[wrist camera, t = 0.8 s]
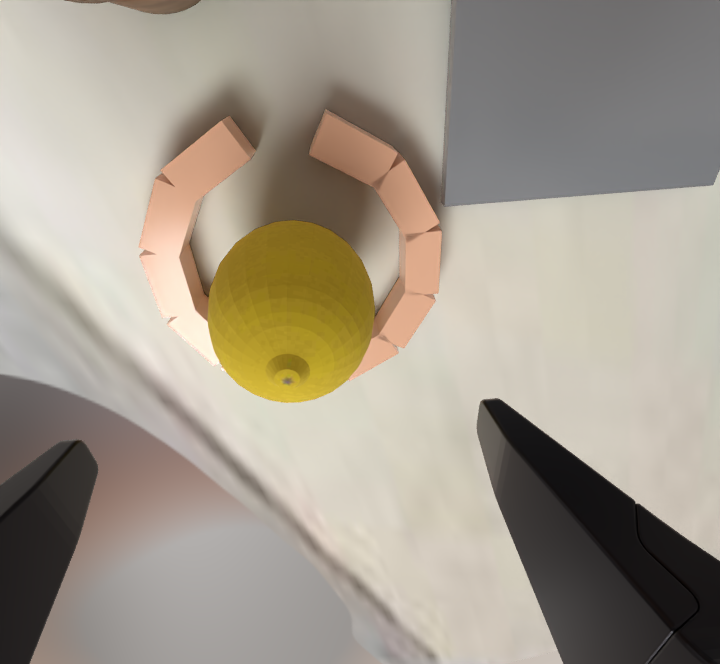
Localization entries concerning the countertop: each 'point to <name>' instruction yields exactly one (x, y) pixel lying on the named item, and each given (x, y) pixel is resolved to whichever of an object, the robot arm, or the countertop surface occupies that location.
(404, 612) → the countertop surface
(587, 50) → the slate coaster
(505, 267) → the countertop surface
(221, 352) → the lemon
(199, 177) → the c ring
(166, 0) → the walnut salt pot
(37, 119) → the countertop surface
